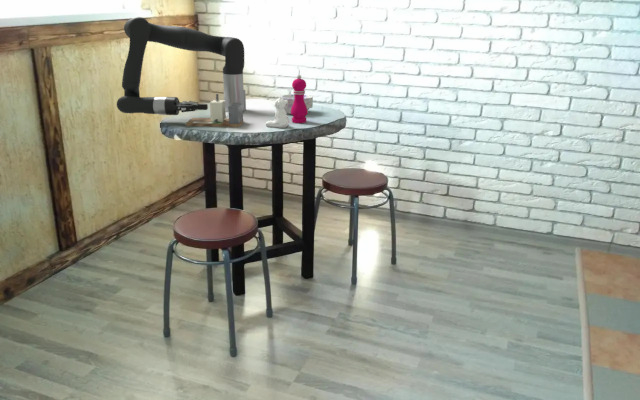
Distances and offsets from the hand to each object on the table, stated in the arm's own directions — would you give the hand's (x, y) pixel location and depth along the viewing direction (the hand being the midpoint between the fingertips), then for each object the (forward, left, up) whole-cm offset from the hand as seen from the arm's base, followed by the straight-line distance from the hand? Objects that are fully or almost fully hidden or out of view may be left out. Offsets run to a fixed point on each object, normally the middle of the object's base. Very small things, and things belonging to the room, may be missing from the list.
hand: (207, 107), depth 227 cm
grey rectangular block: (-9, +8, -6) cm, 13 cm away
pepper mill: (-34, +19, -7) cm, 39 cm away
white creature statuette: (-22, +22, -7) cm, 32 cm away
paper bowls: (-45, +2, -7) cm, 45 cm away
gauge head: (-2, +4, -5) cm, 7 cm away
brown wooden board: (-2, +2, -7) cm, 8 cm away
